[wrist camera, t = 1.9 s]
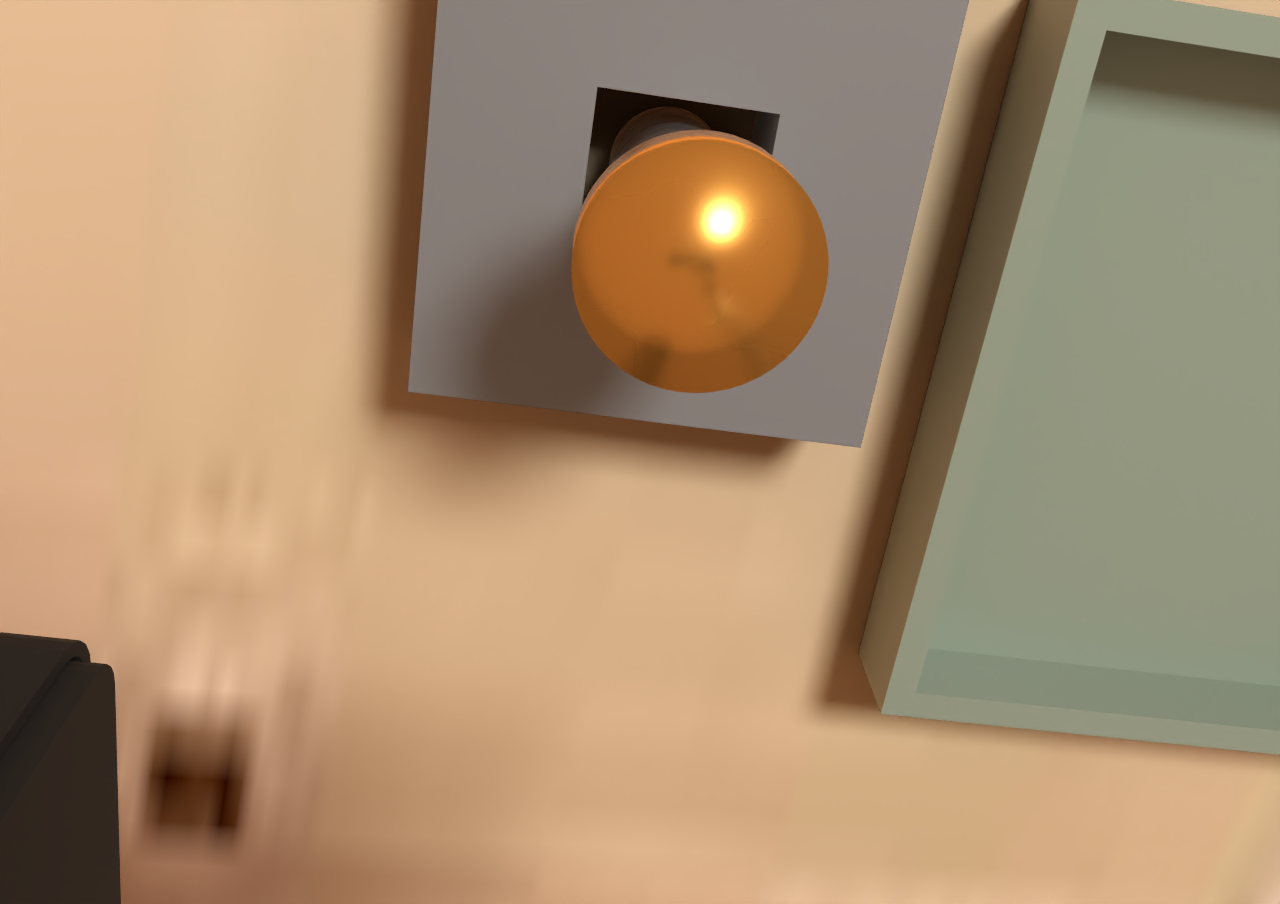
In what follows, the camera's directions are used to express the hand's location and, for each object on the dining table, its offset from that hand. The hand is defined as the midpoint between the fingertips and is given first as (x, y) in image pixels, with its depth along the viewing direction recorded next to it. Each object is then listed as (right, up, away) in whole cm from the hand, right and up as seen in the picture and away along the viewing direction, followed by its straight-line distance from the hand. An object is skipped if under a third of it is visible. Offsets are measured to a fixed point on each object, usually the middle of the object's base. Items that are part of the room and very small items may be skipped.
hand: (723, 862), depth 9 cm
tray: (+15, +5, +24) cm, 28 cm away
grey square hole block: (0, +10, +21) cm, 23 cm away
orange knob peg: (0, +10, +21) cm, 23 cm away
